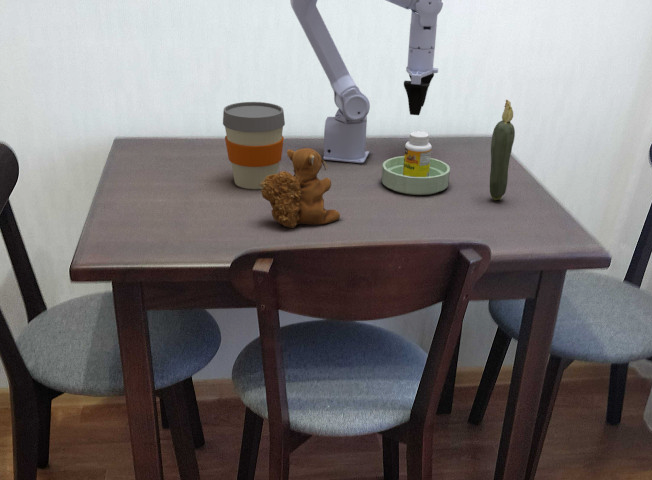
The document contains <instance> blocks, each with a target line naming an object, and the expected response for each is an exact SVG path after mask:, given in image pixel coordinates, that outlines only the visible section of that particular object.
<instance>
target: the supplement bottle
mask: <svg viewBox="0 0 652 480" xmlns="http://www.w3.org/2000/svg"><path fill="white" fill-rule="evenodd" d="M429 140H430V134H429V133H428V132H425V131H412V132H410V133H409V137H408V141H406V143H405V145H404V154H403V156H404V166H403V175H405V176H411V177H429V169H430V159H431V158H432V149H433V147H432V144H431V143H430V142H429Z"/></svg>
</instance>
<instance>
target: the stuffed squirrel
mask: <svg viewBox="0 0 652 480" xmlns="http://www.w3.org/2000/svg"><path fill="white" fill-rule="evenodd" d="M286 155H287V157H288V158H289V160H290V161H291V163H292V167H293V173H294V175H293V174H291V173H290V172H289V171H285V170H280V171H278V174H273V175H268V176H267V177H266V178H265V180H262V182H261V183H259V185H260V186H262V187H264V188H263V189H260V193H261V196H262V198H263V199H264V200H266V201H268V202H269V203H270V206H271V208H272V209H271V210H270V211H271V215H272V218H273V220H274V221H276V222H277V223H279V224H280V225H282V226H283V227H287V228H289V229H295V227H296V226H297V225H301V224H303V225H327V224H329V223H332V222H335V221H338V220H339V219H340V217H341V213H340V212H339V211H338V210H336V209H325V200H324V199H325V198H323V197H324V195H325V193H327V192H328V191H330V189H331V187H332V180H331V179H330V178H329V177H324V178H322V179H320V178H318V174H319V173H320V171H321V169H322V168H323V167H324V171H327V169H329V167H328V165H327V163H326V161H325V160H324V159H323V158H322V156H321V155H320V153H319V152H317V150H315V149H313V148H310V147H303V148H299V149H296V150H295V151H294V150H293V149H287V150H286Z"/></svg>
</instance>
